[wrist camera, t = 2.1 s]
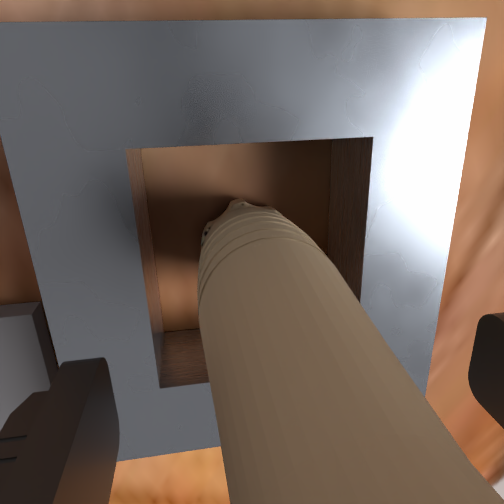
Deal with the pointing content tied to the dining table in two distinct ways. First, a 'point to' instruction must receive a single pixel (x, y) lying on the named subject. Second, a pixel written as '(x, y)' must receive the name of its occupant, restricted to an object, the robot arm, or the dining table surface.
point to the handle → (312, 380)
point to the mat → (23, 355)
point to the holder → (229, 132)
